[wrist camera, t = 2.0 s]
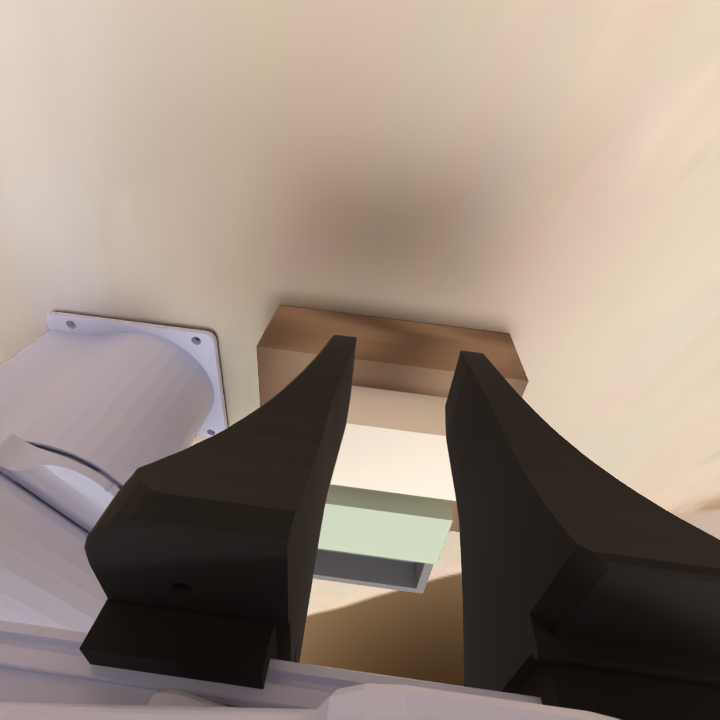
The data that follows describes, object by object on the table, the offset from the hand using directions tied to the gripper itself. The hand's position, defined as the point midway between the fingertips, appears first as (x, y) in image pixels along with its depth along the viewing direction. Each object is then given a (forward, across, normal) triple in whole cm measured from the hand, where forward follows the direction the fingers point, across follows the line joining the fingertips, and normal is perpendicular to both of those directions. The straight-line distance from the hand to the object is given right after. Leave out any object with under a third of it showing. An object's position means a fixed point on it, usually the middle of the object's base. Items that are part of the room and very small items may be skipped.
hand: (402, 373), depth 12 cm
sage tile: (+5, 0, +12) cm, 14 cm away
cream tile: (+5, 0, +7) cm, 9 cm away
